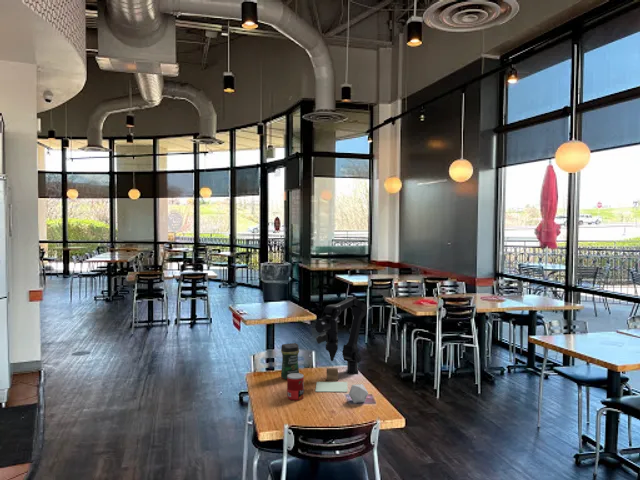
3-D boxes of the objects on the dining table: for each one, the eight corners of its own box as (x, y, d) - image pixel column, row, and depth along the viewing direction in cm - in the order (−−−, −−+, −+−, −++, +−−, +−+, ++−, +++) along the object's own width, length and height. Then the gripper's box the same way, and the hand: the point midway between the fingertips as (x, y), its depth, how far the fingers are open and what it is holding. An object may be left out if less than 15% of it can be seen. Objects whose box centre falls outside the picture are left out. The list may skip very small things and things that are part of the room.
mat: (316, 382, 247) (316, 381, 247) (347, 382, 246) (347, 381, 246) (315, 392, 233) (315, 391, 233) (347, 392, 232) (347, 391, 232)
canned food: (301, 401, 221) (301, 378, 221) (285, 400, 223) (285, 377, 222) (305, 395, 229) (305, 373, 228) (289, 394, 230) (289, 372, 230)
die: (364, 407, 214) (373, 388, 218) (347, 398, 214) (356, 379, 218) (359, 407, 222) (368, 388, 226) (343, 398, 222) (352, 380, 226)
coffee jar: (284, 380, 250) (283, 346, 250) (279, 376, 258) (279, 342, 257) (301, 378, 254) (300, 344, 254) (296, 374, 261) (295, 341, 261)
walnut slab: (326, 379, 252) (326, 368, 252) (337, 379, 252) (337, 368, 252) (326, 380, 250) (326, 369, 249) (337, 381, 249) (337, 369, 249)
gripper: (317, 325, 259) (318, 353, 260) (315, 333, 241) (316, 363, 241) (337, 325, 259) (338, 353, 259) (337, 333, 240) (337, 363, 241)
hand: (332, 358), depth 250 cm, fingers open, 9 cm apart
